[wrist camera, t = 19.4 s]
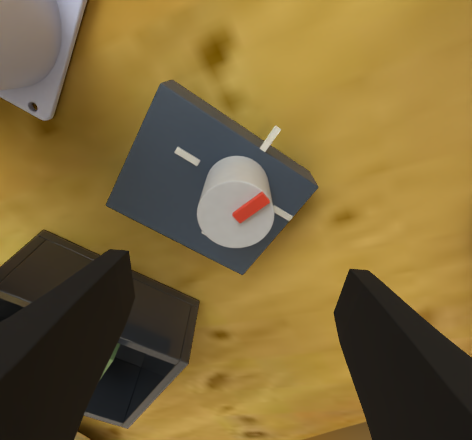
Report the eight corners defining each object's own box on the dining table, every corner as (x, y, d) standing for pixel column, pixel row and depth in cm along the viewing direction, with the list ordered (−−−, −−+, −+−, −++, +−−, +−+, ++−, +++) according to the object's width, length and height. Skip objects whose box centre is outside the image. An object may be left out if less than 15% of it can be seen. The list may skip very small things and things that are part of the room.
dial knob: (233, 223, 17) (230, 264, 14) (192, 182, 16) (179, 215, 13) (281, 190, 16) (290, 225, 13) (241, 141, 15) (240, 166, 11)
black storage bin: (14, 315, 26) (-41, 378, 21) (43, 228, 21) (-20, 283, 16) (147, 365, 29) (127, 429, 24) (200, 300, 24) (188, 364, 19)
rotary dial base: (120, 188, 19) (103, 207, 17) (183, 54, 15) (172, 54, 13) (242, 253, 22) (242, 277, 19) (324, 154, 18) (337, 168, 15)
